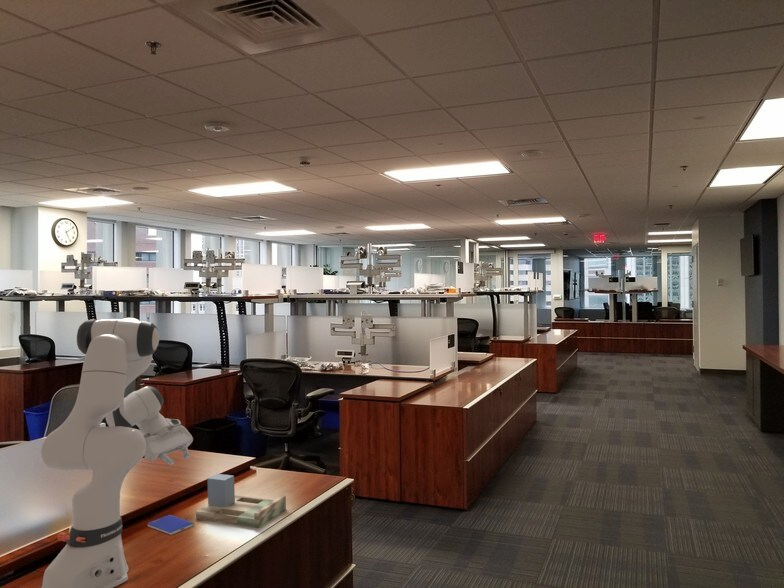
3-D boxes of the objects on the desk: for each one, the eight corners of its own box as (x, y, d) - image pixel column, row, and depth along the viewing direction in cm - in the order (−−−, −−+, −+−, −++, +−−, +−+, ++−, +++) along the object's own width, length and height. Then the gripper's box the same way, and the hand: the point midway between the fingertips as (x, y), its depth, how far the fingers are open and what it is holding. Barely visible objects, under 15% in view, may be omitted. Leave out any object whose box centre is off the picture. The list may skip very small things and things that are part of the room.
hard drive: (147, 522, 183) (170, 531, 176) (170, 514, 189) (193, 522, 182) (147, 527, 183) (171, 536, 176) (170, 518, 189) (194, 527, 182)
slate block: (225, 507, 190) (224, 480, 190) (208, 505, 192) (207, 478, 192) (234, 502, 195) (234, 475, 195) (217, 500, 197) (217, 473, 197)
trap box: (258, 527, 179) (258, 513, 179) (196, 518, 188) (195, 505, 188) (286, 509, 194) (285, 495, 194) (226, 501, 202) (226, 488, 202)
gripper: (139, 432, 192) (163, 463, 189) (182, 418, 211) (204, 447, 208) (129, 444, 194) (153, 476, 191) (172, 429, 213) (195, 458, 210)
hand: (180, 460), depth 199 cm, fingers open, 6 cm apart
